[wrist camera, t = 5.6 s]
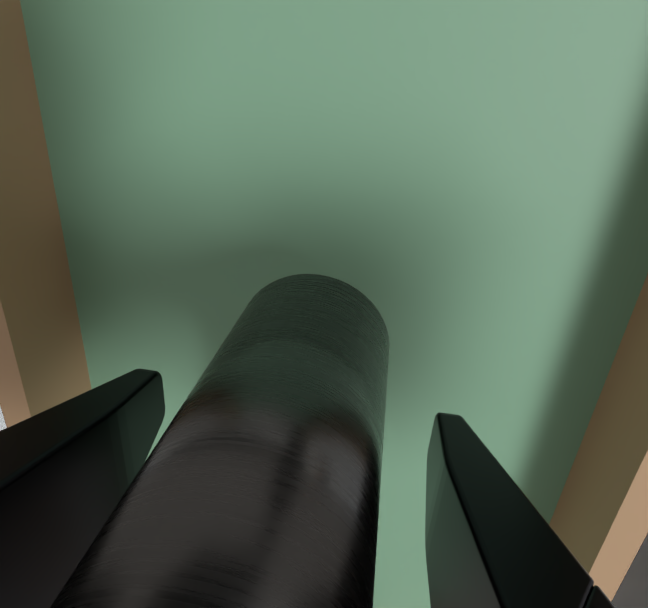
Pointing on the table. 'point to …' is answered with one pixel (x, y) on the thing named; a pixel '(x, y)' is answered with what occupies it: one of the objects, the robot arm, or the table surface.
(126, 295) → the pitch
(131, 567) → the rod
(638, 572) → the table surface
